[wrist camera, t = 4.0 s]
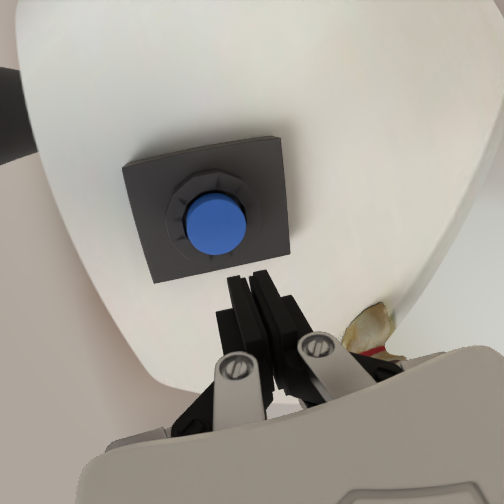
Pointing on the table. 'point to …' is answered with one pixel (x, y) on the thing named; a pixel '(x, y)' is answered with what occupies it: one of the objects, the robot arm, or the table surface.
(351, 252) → the table surface
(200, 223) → the blue button
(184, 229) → the button block
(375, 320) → the chocolate bunny
